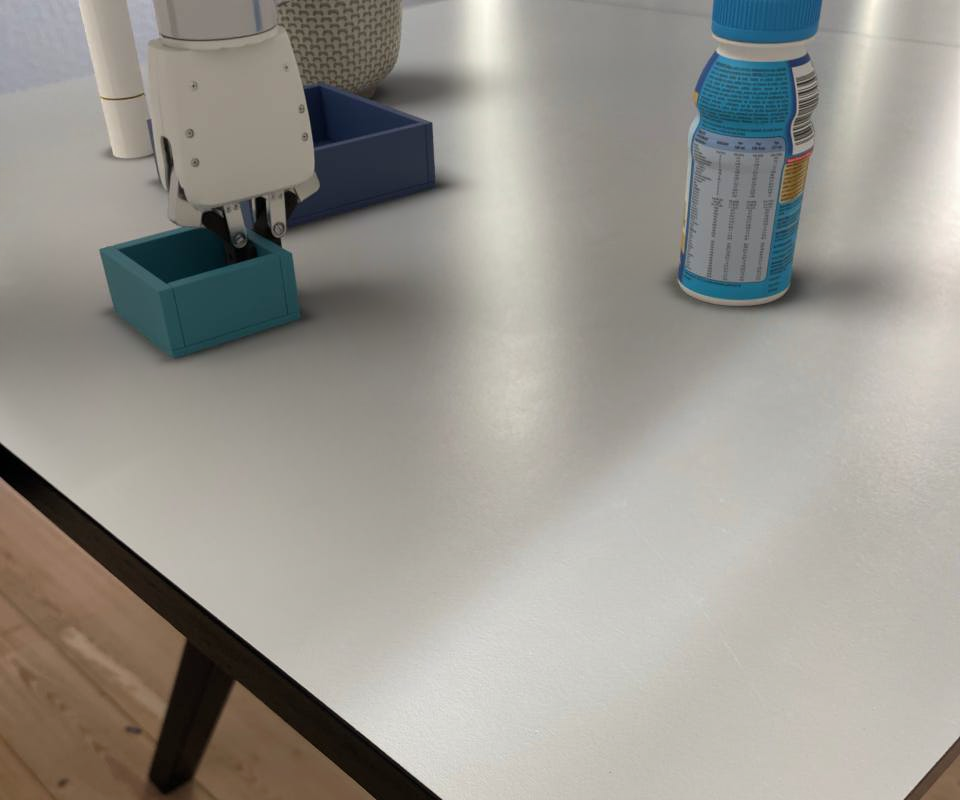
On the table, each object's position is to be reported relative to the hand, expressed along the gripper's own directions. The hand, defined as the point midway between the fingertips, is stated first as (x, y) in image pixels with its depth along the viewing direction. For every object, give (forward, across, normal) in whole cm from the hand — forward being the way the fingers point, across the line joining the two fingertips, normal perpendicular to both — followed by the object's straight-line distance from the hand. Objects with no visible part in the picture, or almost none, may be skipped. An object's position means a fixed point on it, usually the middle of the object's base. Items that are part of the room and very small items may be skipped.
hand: (260, 290), depth 83 cm
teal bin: (+1, +4, 0) cm, 5 cm away
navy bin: (+1, -15, -21) cm, 26 cm away
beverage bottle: (+1, -28, +21) cm, 35 cm away
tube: (+1, -8, -41) cm, 42 cm away
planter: (+1, -34, -45) cm, 56 cm away
